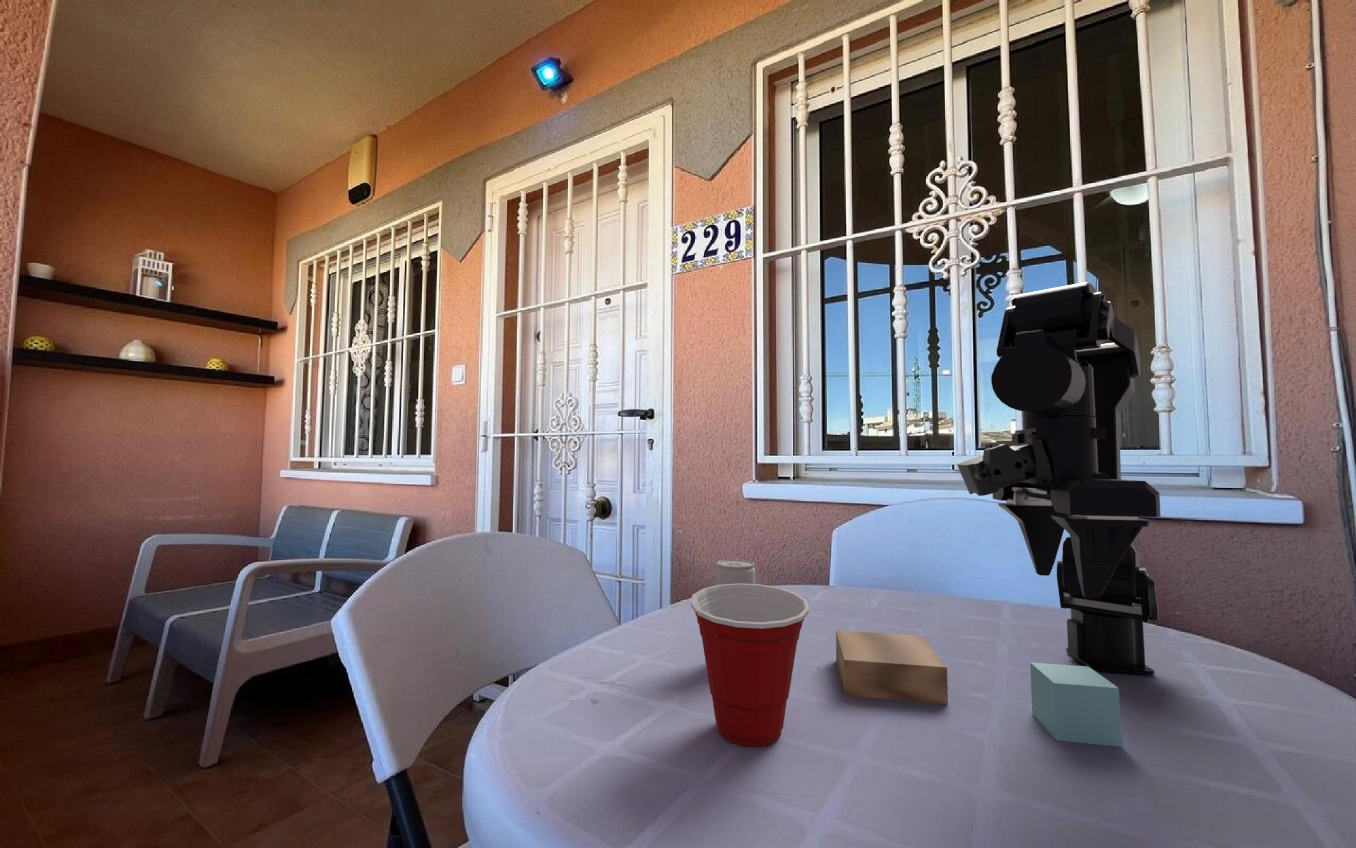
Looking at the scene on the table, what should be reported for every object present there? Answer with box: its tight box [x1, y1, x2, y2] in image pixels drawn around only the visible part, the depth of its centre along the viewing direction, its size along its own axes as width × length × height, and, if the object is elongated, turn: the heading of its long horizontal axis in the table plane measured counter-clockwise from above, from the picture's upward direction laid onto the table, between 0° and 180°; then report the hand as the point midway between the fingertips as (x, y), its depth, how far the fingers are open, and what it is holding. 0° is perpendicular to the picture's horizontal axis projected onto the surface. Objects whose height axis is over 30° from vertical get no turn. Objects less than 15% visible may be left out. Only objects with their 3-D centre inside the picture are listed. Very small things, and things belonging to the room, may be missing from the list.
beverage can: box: [715, 559, 756, 586], centre depth 66 cm, size 5×5×12 cm
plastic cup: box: [689, 583, 811, 748], centre depth 49 cm, size 11×11×12 cm
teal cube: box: [1029, 662, 1123, 748], centre depth 50 cm, size 5×5×5 cm
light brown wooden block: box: [835, 629, 949, 705], centre depth 61 cm, size 10×10×4 cm
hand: (1064, 585), depth 51 cm, fingers open, 9 cm apart
